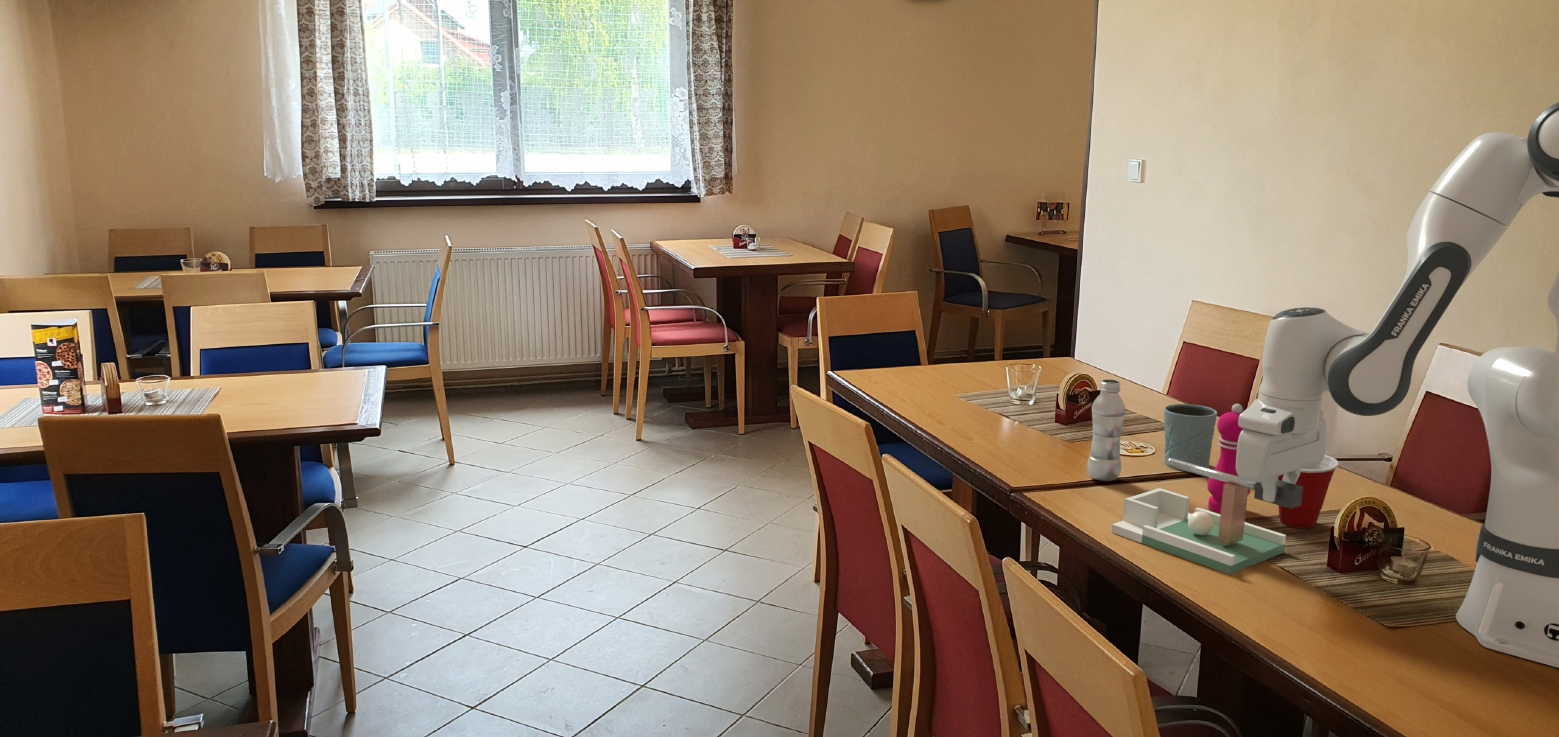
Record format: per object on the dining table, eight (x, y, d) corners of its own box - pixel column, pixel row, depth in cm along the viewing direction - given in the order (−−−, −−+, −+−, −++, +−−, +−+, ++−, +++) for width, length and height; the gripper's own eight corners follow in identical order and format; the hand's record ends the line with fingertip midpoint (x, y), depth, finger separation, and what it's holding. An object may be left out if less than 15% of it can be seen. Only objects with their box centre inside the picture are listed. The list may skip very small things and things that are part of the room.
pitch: (1284, 552, 176) (1287, 520, 175) (1229, 574, 167) (1233, 541, 165) (1166, 513, 193) (1169, 484, 192) (1111, 532, 184) (1114, 502, 183)
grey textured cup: (1219, 473, 217) (1224, 416, 214) (1169, 472, 217) (1174, 415, 214) (1200, 458, 227) (1206, 403, 224) (1152, 457, 227) (1157, 403, 224)
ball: (1217, 535, 179) (1219, 512, 178) (1203, 540, 176) (1205, 517, 176) (1195, 528, 182) (1197, 506, 181) (1181, 533, 180) (1184, 510, 179)
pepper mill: (1251, 518, 191) (1263, 410, 187) (1209, 514, 193) (1220, 407, 189) (1243, 504, 198) (1254, 400, 194) (1201, 501, 200) (1212, 398, 195)
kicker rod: (1296, 557, 168) (1304, 486, 165) (1282, 563, 166) (1291, 490, 163) (1169, 515, 186) (1175, 450, 183) (1155, 520, 183) (1161, 454, 181)
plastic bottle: (1124, 477, 213) (1132, 380, 209) (1114, 486, 208) (1122, 386, 203) (1091, 472, 217) (1099, 376, 212) (1081, 480, 211) (1089, 382, 207)
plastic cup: (1250, 512, 194) (1258, 449, 191) (1307, 511, 195) (1315, 448, 193) (1284, 534, 184) (1292, 468, 181) (1343, 533, 185) (1352, 467, 182)
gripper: (1302, 398, 173) (1293, 480, 176) (1232, 417, 161) (1223, 504, 164) (1342, 407, 168) (1331, 490, 171) (1272, 426, 156) (1262, 516, 159)
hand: (1277, 497), depth 167 cm, fingers closed on kicker rod, 3 cm apart
